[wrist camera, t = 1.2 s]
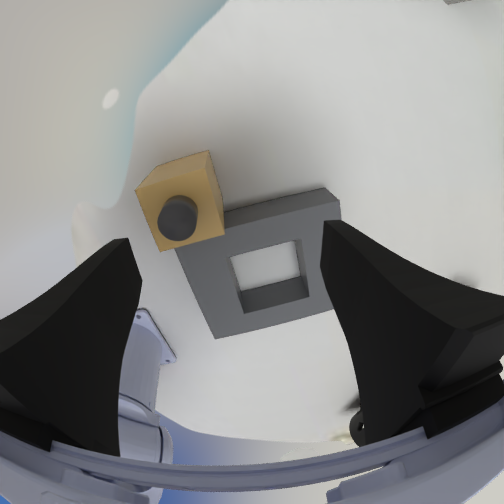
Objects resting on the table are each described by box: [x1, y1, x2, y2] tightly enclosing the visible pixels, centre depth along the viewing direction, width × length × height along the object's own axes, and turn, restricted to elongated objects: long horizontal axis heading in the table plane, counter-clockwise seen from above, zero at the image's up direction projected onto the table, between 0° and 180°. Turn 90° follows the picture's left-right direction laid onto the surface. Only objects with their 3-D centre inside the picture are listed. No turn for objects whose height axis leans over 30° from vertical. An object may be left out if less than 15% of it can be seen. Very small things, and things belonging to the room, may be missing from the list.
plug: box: [135, 150, 225, 252], centre depth 17 cm, size 4×4×8 cm
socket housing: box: [174, 188, 341, 339], centre depth 23 cm, size 12×10×3 cm
